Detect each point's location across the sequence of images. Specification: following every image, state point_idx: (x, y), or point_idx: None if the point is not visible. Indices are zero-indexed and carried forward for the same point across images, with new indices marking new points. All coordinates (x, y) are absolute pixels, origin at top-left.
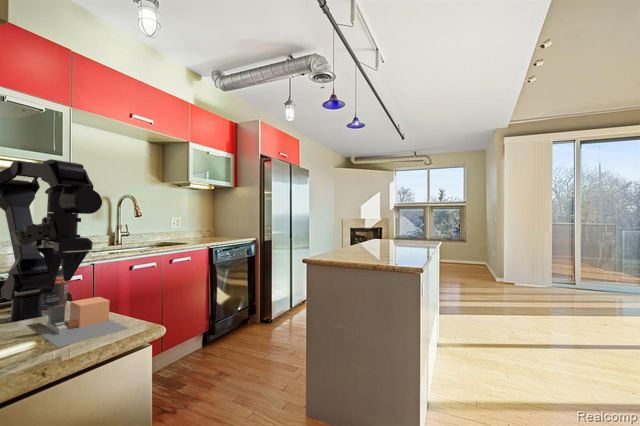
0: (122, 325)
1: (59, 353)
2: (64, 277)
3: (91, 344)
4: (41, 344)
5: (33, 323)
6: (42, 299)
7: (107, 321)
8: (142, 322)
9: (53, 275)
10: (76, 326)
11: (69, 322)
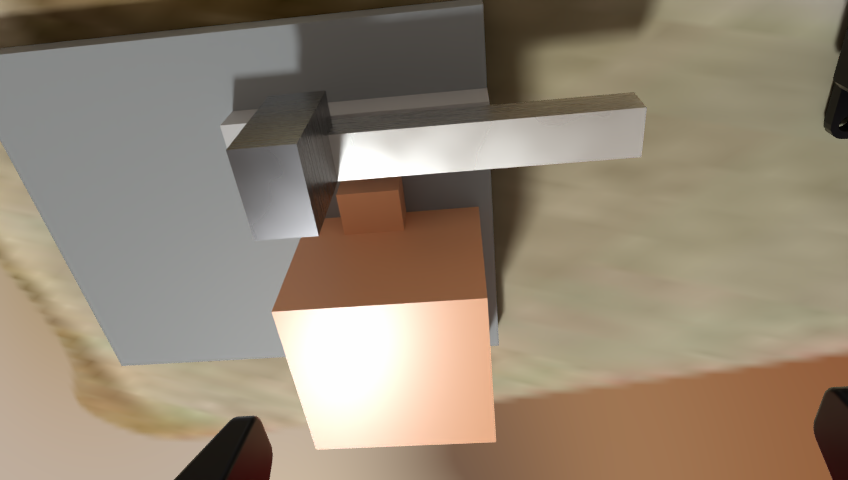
0: (193, 360)
1: None
2: (201, 456)
3: None
4: (194, 5)
5: (779, 42)
6: None
7: None
8: (269, 424)
9: (824, 417)
10: None
11: (342, 197)
